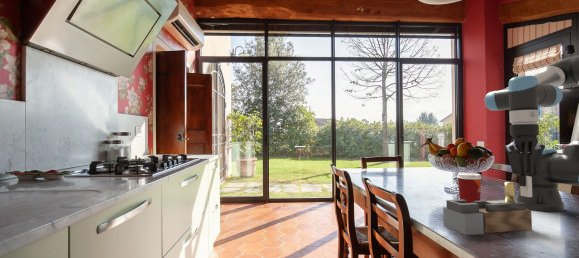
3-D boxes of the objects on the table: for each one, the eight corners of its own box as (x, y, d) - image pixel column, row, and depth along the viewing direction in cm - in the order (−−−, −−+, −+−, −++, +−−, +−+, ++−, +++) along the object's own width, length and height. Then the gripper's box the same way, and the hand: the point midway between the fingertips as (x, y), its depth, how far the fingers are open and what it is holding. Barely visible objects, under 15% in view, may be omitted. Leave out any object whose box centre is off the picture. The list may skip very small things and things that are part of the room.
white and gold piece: (510, 205, 98) (509, 181, 99) (518, 207, 96) (517, 183, 96) (485, 206, 97) (484, 182, 97) (493, 209, 94) (492, 184, 94)
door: (509, 222, 101) (508, 198, 101) (532, 229, 93) (531, 203, 93) (466, 225, 99) (465, 200, 99) (485, 232, 91) (484, 206, 91)
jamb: (460, 224, 100) (459, 198, 100) (483, 234, 90) (482, 205, 90) (443, 225, 99) (442, 199, 99) (465, 235, 89) (464, 206, 89)
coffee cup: (487, 217, 107) (486, 175, 108) (462, 216, 109) (461, 175, 109) (477, 211, 116) (476, 172, 116) (454, 211, 117) (453, 172, 118)
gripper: (516, 123, 94) (518, 199, 93) (552, 123, 95) (555, 197, 95) (496, 124, 101) (498, 194, 100) (530, 124, 103) (533, 193, 102)
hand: (526, 196), depth 98 cm, fingers closed
